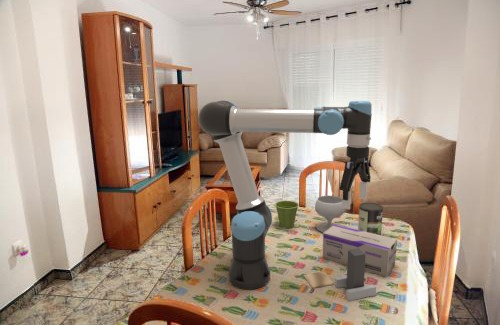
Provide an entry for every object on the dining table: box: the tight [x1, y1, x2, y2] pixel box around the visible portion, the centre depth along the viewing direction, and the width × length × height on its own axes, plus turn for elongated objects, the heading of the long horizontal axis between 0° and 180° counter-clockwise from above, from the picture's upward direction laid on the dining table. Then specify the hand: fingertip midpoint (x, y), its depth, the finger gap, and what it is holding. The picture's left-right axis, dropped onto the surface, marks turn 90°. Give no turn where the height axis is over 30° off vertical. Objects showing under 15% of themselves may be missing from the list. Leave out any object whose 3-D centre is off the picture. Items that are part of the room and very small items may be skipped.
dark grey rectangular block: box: [345, 249, 366, 290], centre depth 111 cm, size 4×4×14 cm
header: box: [334, 275, 377, 302], centre depth 112 cm, size 10×9×3 cm
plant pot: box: [274, 200, 300, 229], centre depth 165 cm, size 12×12×11 cm
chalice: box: [314, 195, 346, 233], centre depth 160 cm, size 14×14×15 cm
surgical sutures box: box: [322, 223, 398, 278], centre depth 130 cm, size 25×11×11 cm, turn 52°
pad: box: [302, 271, 335, 289], centre depth 119 cm, size 8×8×1 cm
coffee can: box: [357, 202, 384, 236], centre depth 152 cm, size 10×10×14 cm
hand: (354, 203), depth 121 cm, fingers open, 13 cm apart
